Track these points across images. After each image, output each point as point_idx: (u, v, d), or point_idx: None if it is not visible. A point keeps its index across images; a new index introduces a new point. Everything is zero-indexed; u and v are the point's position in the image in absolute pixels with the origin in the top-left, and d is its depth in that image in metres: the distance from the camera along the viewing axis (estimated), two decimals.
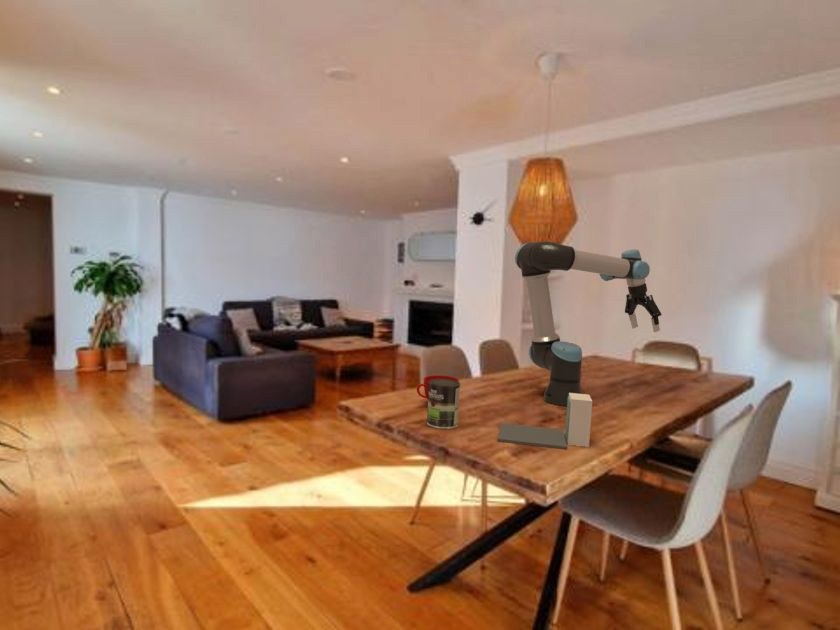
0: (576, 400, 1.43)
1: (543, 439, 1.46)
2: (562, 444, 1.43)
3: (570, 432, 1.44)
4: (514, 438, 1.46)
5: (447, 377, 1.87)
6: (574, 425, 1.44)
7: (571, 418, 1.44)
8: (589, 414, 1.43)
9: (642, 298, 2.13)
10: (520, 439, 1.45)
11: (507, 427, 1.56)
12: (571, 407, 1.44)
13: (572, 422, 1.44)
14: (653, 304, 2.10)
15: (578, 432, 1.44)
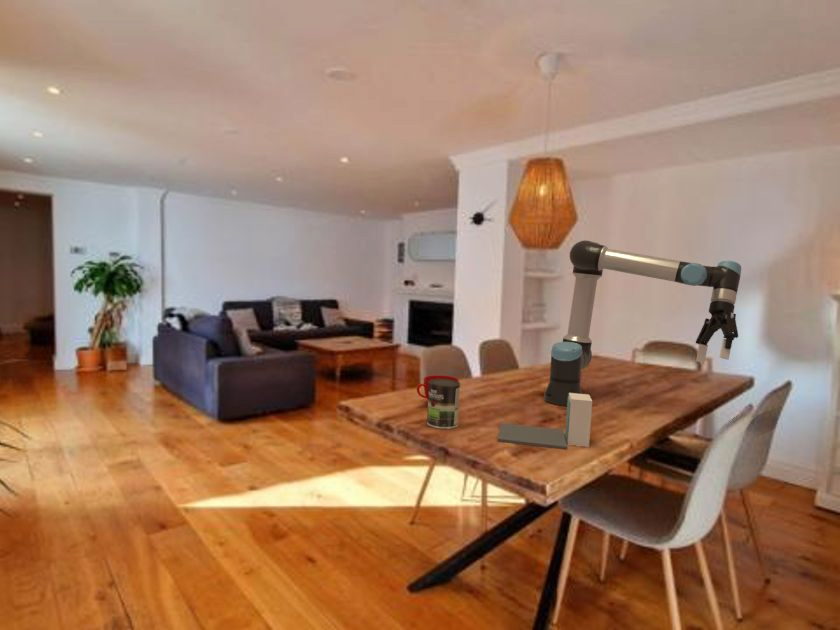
0: (576, 400, 1.43)
1: (543, 439, 1.46)
2: (562, 444, 1.43)
3: (570, 432, 1.44)
4: (514, 438, 1.46)
5: (447, 377, 1.87)
6: (574, 425, 1.44)
7: (571, 418, 1.44)
8: (589, 414, 1.43)
9: (722, 316, 1.69)
10: (520, 439, 1.45)
11: (507, 427, 1.56)
12: (571, 407, 1.44)
13: (572, 422, 1.44)
14: (732, 322, 1.64)
15: (578, 432, 1.44)
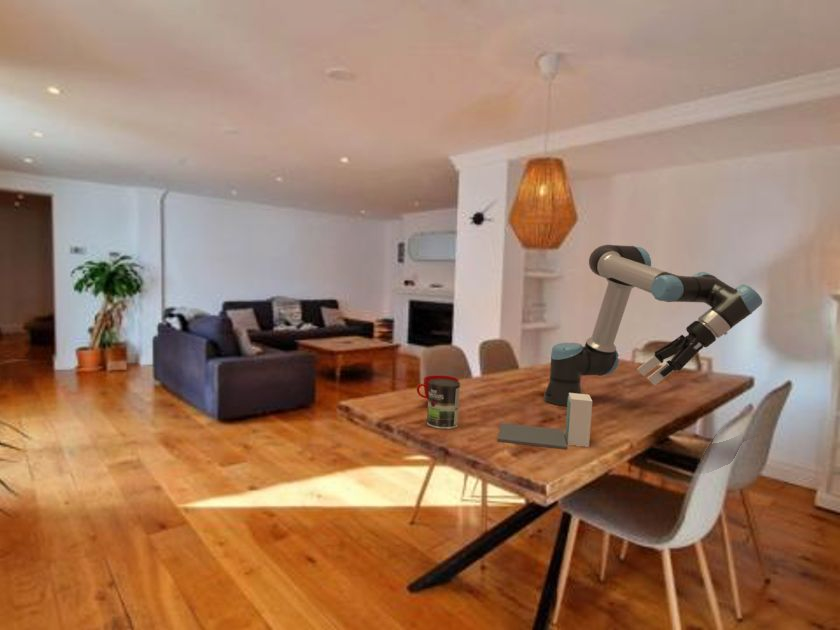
0: (576, 400, 1.43)
1: (543, 439, 1.46)
2: (562, 444, 1.43)
3: (570, 432, 1.44)
4: (514, 438, 1.46)
5: (447, 377, 1.87)
6: (574, 425, 1.44)
7: (571, 418, 1.44)
8: (589, 414, 1.43)
9: (690, 341, 1.36)
10: (520, 439, 1.45)
11: (507, 427, 1.56)
12: (571, 407, 1.44)
13: (572, 422, 1.44)
14: (689, 353, 1.32)
15: (578, 432, 1.44)
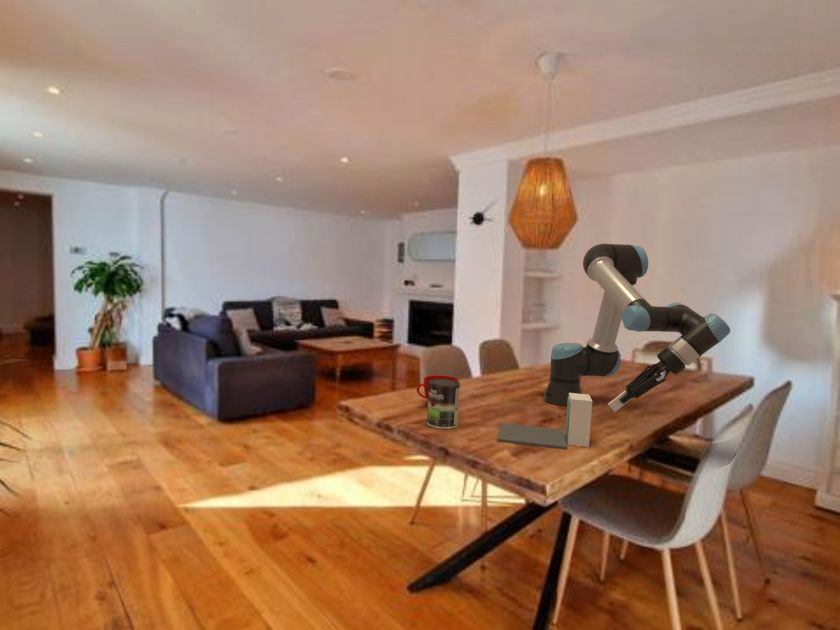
0: (576, 400, 1.43)
1: (543, 439, 1.46)
2: (562, 444, 1.43)
3: (570, 432, 1.44)
4: (514, 438, 1.46)
5: (447, 377, 1.87)
6: (574, 425, 1.44)
7: (571, 418, 1.44)
8: (589, 414, 1.43)
9: (659, 369, 1.38)
10: (520, 439, 1.45)
11: (507, 427, 1.56)
12: (571, 407, 1.44)
13: (572, 422, 1.44)
14: (649, 385, 1.37)
15: (578, 432, 1.44)
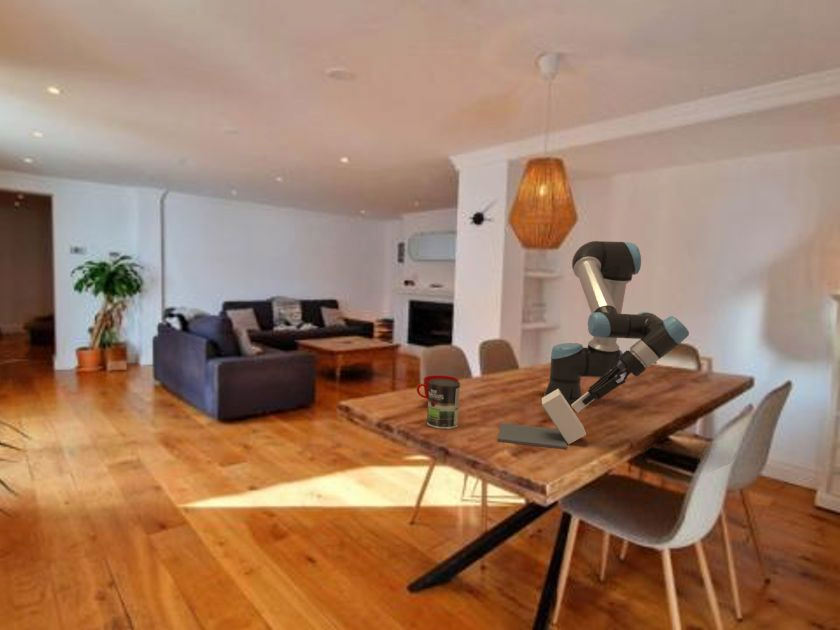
0: (547, 402, 1.45)
1: (543, 439, 1.46)
2: (562, 444, 1.43)
3: (562, 432, 1.45)
4: (514, 438, 1.46)
5: (447, 377, 1.87)
6: (561, 424, 1.45)
7: (554, 420, 1.45)
8: (565, 407, 1.44)
9: (620, 371, 1.41)
10: (520, 439, 1.45)
11: (507, 427, 1.56)
12: (547, 411, 1.45)
13: (557, 422, 1.45)
14: (610, 386, 1.40)
15: (568, 427, 1.44)
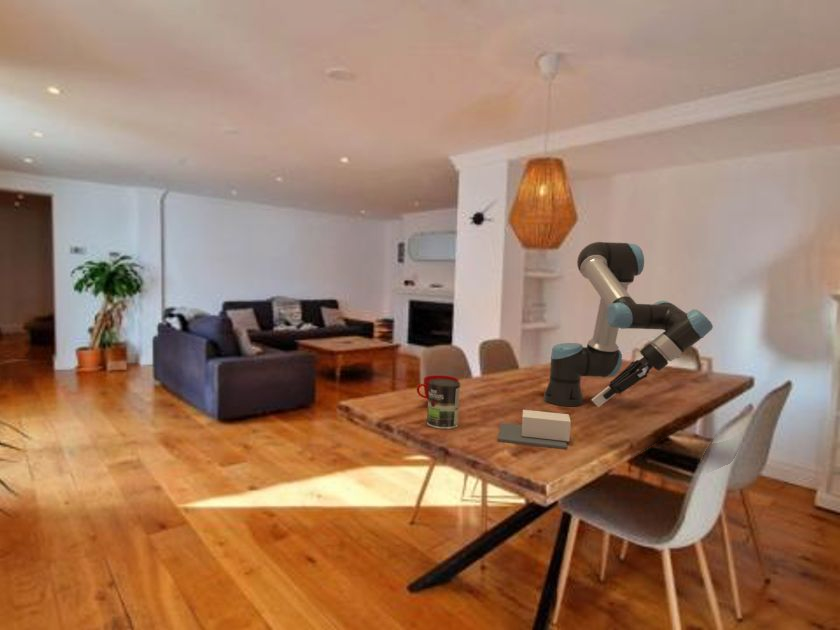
0: (522, 431, 1.47)
1: (543, 439, 1.46)
2: (562, 444, 1.43)
3: (555, 438, 1.45)
4: (514, 438, 1.46)
5: (447, 377, 1.87)
6: (548, 434, 1.46)
7: (541, 436, 1.46)
8: (536, 419, 1.46)
9: (642, 365, 1.39)
10: (520, 439, 1.45)
11: (507, 427, 1.56)
12: (529, 436, 1.47)
13: (544, 435, 1.46)
14: (631, 380, 1.38)
15: (555, 430, 1.45)
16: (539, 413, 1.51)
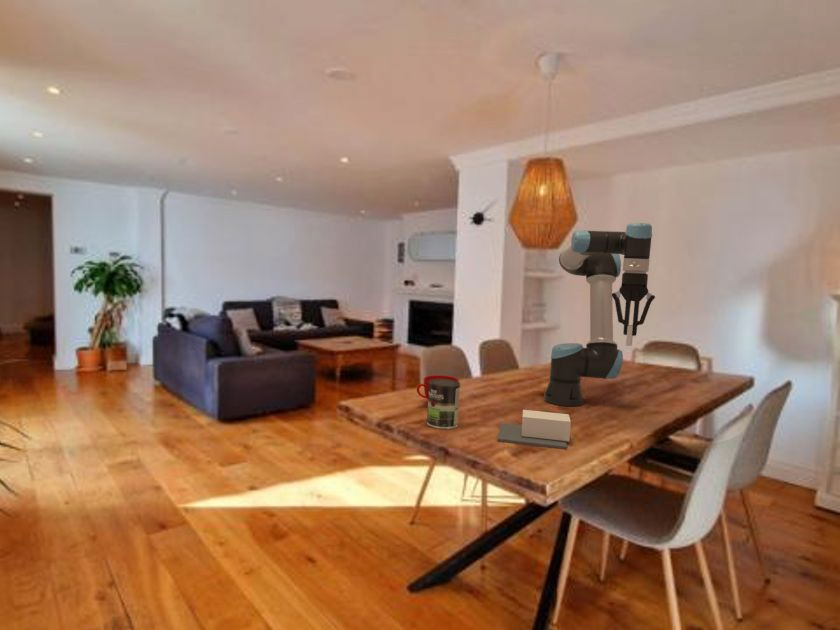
0: (522, 431, 1.47)
1: (543, 439, 1.46)
2: (562, 444, 1.43)
3: (555, 438, 1.45)
4: (514, 438, 1.46)
5: (447, 377, 1.87)
6: (548, 434, 1.46)
7: (541, 436, 1.46)
8: (536, 419, 1.46)
9: None
10: (520, 439, 1.45)
11: (507, 427, 1.56)
12: (529, 436, 1.47)
13: (544, 435, 1.46)
14: (616, 306, 1.58)
15: (555, 430, 1.45)
16: (539, 413, 1.51)
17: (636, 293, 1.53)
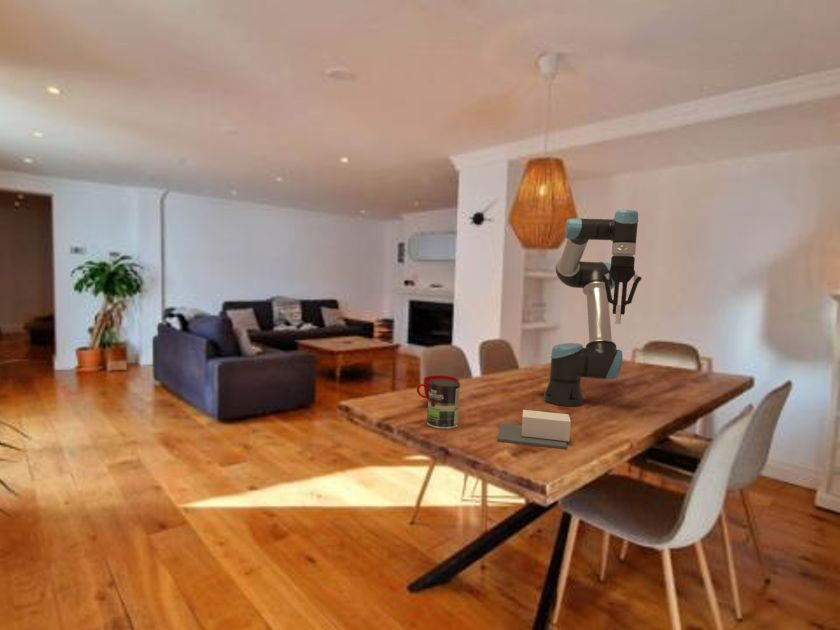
0: (522, 431, 1.47)
1: (543, 439, 1.46)
2: (562, 444, 1.43)
3: (555, 438, 1.45)
4: (514, 438, 1.46)
5: (447, 377, 1.87)
6: (548, 434, 1.46)
7: (541, 436, 1.46)
8: (536, 419, 1.46)
9: None
10: (520, 439, 1.45)
11: (507, 427, 1.56)
12: (529, 436, 1.47)
13: (544, 435, 1.46)
14: None
15: (555, 430, 1.45)
16: (539, 413, 1.51)
17: (624, 275, 1.66)
